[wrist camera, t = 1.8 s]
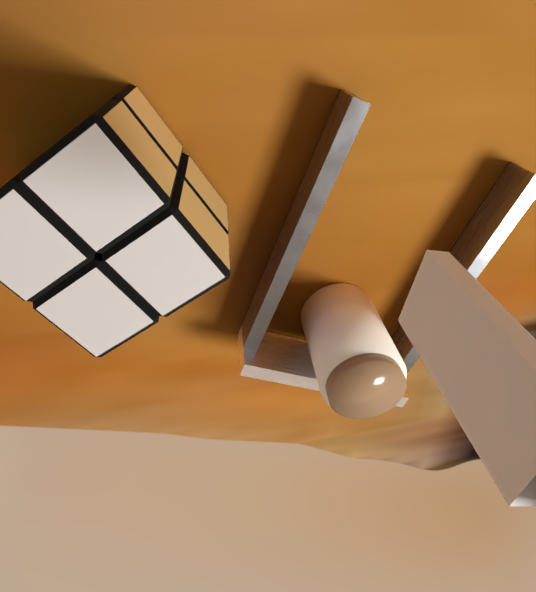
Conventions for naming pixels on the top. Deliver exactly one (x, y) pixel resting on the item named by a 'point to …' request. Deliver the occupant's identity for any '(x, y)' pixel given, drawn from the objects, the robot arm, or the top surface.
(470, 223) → the lane
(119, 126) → the puzzle cube
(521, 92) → the top surface
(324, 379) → the canister
